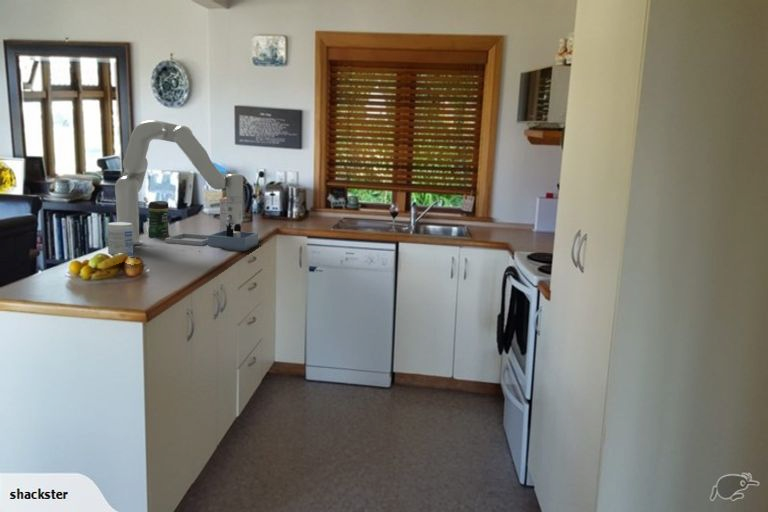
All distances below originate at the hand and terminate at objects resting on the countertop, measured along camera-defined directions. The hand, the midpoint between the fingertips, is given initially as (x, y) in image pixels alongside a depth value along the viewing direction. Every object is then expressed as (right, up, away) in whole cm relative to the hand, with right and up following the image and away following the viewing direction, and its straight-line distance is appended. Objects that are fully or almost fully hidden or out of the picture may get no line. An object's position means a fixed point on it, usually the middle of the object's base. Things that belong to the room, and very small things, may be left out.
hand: (233, 235), depth 293 cm
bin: (0, -5, +1) cm, 5 cm away
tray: (-21, -4, +3) cm, 22 cm away
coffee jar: (-40, -1, +12) cm, 42 cm away
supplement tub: (-37, -11, -40) cm, 56 cm away
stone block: (0, -4, +1) cm, 4 cm away
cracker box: (-9, 0, +26) cm, 27 cm away
